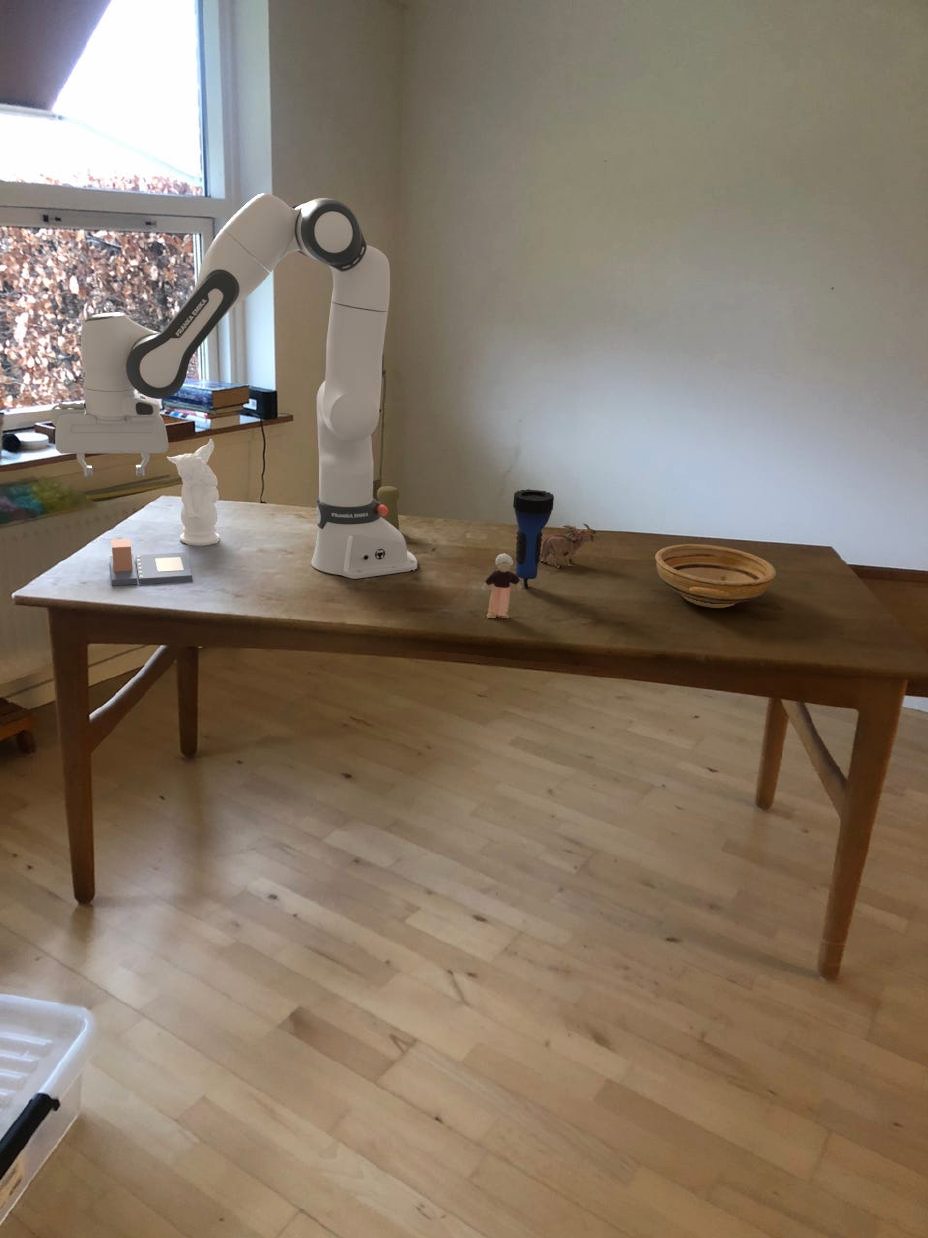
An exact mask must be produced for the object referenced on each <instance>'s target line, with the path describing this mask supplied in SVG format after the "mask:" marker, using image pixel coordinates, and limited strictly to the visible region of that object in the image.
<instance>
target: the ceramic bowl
mask: <svg viewBox="0 0 928 1238" xmlns="http://www.w3.org/2000/svg"><path fill="white" fill-rule="evenodd" d="M654 559H655V561H656V565H655V566H656V570H657V573H658V575H659V577H660V579H661V580H662V582H663V583H664V585H665V586H667V587H668V588H670V589H671V590H673V591H674V592H676V593H678V594H680V595H681V596H682V595H684V596H686V597H688V598H691V599H693V600H696V601H700V602H704V603H710V604H733V603H736V604H737V603H743V602H748V601H752V600H754V599H756V598H758V597H760V596H761V595H763V594H764V593H765V592H766V591H767V590H768V589H769V587H770V585H771V583H772V582H773V579H774V578H775V577H776V574H777V571H776V569H775V567H774V566H773V564H771V563H770V562H769V561H767V560H765V559H763V558H762V557H759V556H756V555H755V554H753V553H749V552H745V551H743V550H739V549H735V548H730V547H725V546H720V545H712V544H698V543H697V544H694V543H688V544H676V545H671V546H666V547H664V548H662V549H660V550H658V551H657V552H656V553H655V556H654Z"/></svg>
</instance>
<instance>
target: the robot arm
mask: <svg viewBox="0 0 928 1238" xmlns="http://www.w3.org/2000/svg"><path fill="white" fill-rule="evenodd" d="M293 252H298V253H300V254H302V255H303V256H306V257H307V258H309V259H311V260H313V261H314V262H317V263H320V264H321V263H323V264H325V265H327V266H328V267H329V268H330V270H331V273H332V284H333V288H332V293H331V299H330V301H331V302H330V309H329V319H328V326H327V327H328V329H327V336H326V344H325V346H326V354H325V358H326V359H325V378H324V381H323V382H322V383H321V385H320V386H319V389H318V391H317V393H316V394H317V395H316V420H317V421H316V422H317V441H318V442H317V444H318V458H319V459H318V462H319V463H318V464H319V468H318V471H319V473H318V474H319V475H318V476H319V477H318V478H319V479H318V481H319V483H318V484H319V485H318V486H319V487H318V488H319V489H318V490H319V492H318V495H319V496H318V498H317V500H316V501H317V502H316V514H315V515H316V524H317V536H316V543H315V546H314V547H315V548H314V553H313V556H312V559H311V561H310V564H311V566H312V567H313V568H314V569H316V570H318V571H320V572H323V573H326V574H332V575H339V576H343V577H346V578H348V579H354V580H355V579H363V578H364V579H365V578H371V577H376V576H377V577H379V576H384V575H386V576H387V575H391V574H398V573H406V572H411V570H413V571H416V570H415V569H418V560H417V558H416V556H415V555H414V554H413V553H411V552H410V551H409V550H408V547H407V542H406V539H405V537H404V534H403V533H402V532H401V531H399V530H400V529H399V530H397V529H396V528H395V527H394V526H392V525H391V524H390V523H389V522H387V521H386V520H385V519H383V518H382V517H381V516H385V515H387V513H388V508H387V507H386V506H385V505H382V504H381V503H380V502H379V500H376V499H375V498H373V494H374V493H373V491H374V458H373V449H372V448H373V446H372V434H373V433H374V431H375V430H376V428H377V427H378V423H379V421H380V407H381V398H382V397H381V395H382V394H381V393H382V380H383V379H382V378H383V351H384V345H385V343H384V342H385V337H386V336H385V335H386V330H387V329H386V328H387V321H388V316H389V315H388V313H389V306H390V295H391V293H390V292H391V269H390V263H389V262H390V261H389V260H388V257H387V256H386V255H385V254H384V252H382V251H381V250H380V249H378V248H376V247H374V246H371V245H368V244H367V243H366V239H365V237H364V234H363V232H362V228H361V226H360V222H359V221H358V218H357V216H356V214H355V213H354V211H353V210H352V209H351V208H350V207H349V206H348V205H346V204H345V203H343V202H342V201H340V200H335V199H333V198H328V197H321V198H320V197H319V198H315V199H312V200H309V201H306V202H303V203H300V204H297V205H294V206H289V205H288V204H287V203H286V202H285V201H283V200H282V199H281V198H280V197H277V196H276V195H274V194H270V193H261V194H257V195H256V196H255V197H253V198H252V199H251V200H249V201H248V202H247V203H246V204H245V205H244V206H243V207H241V208H240V209H239V210H238V211H237V212H236V213H235V214H234V215H233V216H232V217H231V218H230V219H229V220H228V222H226V224H225V225H224V226H223V227H222V229H221V230H220V231H219V233H218V234H217V235H216V236H215V238H214V239H213V241H212V242H211V244H210V245H209V248H208V249H207V250H206V253H205V254H204V257H203V258H202V261H201V263H200V268H199V273H198V277H197V280H196V283H195V285H194V287H193V290H192V292H191V293H190V295H189V297H188V298H187V300H186V301H185V303H184V304H183V305H182V306H181V308H180V309H178V311H177V313H176V314H175V315H174V316H173V317H172V319H170V322H169V323H168V324H167V325H166V326H165V327H164V329H163V330H162V331H161V332H159V331H155V330H153V329H151V328H147V327H146V326H143V325H141V324H139V323H138V322H136V321H134V320H133V319H131V318H130V317H128V316H127V315H126V314H125V313H122V312H117V311H114V312H113V311H112V312H111V311H110V312H109V311H108V312H103V313H102V312H101V313H97V314H93V315H91V316H89V317H88V318H86V319H85V320H84V321H83V323H82V326H81V331H80V355H81V364H82V368H83V369H84V370H83V371H84V381H83V396H84V397H83V399H84V402H58V404H56V405H54V406H53V407H52V408H51V409H50V420H51V423H52V425H53V426H54V427H55V435H54V439H55V441H54V443H55V450H56V451H57V452H58V453H59V454H63V455H64V454H66V455H67V454H69V455H71V454H75V455H76V460H77V461H78V463H79V464H80V465H81V467H82V468H83V473H84V477H93V465H88V464H87V463H86V461H85V459H86V455H85V454H141V459H142V460H141V462H140V464H136V465H135V470H136V472H135V473H136V476H139V477H141V476H143V477H145V475H146V473H145V472H146V471H145V467H146V466H147V464H148V463H149V461H150V459H151V456H150V454H164V453H166V452H167V451H168V450H169V438H168V437H169V436H168V433H167V427H166V424H165V421H164V419H163V417H162V415H161V414H160V411H161V407H160V403H159V402H158V401H157V400H159V399H161V400H163V399H166V398H170V397H172V396H174V395H175V394H177V393H178V392H179V391H180V390H181V389H182V387H183V385H184V383H185V381H186V378H187V374H188V368H189V365H190V362H191V361H192V360H191V359H192V357H193V356H194V355H195V353H196V352H197V350H198V349H199V348H200V347H201V345H202V344H203V343H204V341H205V340H206V339H207V337H208V336H209V335H210V334H211V332H212V331H213V330H214V329H215V328H216V326H217V324H218V323H220V321H221V320H222V319H223V317H225V316H226V315H227V314H228V313H229V312H230V311H232V310H233V309H234V308H235V307H236V306H238V305H239V304H240V303H241V302H242V301H244V299H246V298H247V297H248V296H249V295H251V294H252V293H253V292H254V291H255V290H256V289H257V288H258V287H260V285H261V284H262V283H263V282H264V281H265V280H266V279H267V278H268V277H269V276H270V274H271V273H272V272H273V270H275V268H276V267H277V265H278V263H280V261H282V260H283V259H284V258H285V257H286V256H287V255H289V254H291V253H293ZM135 390H136V391H137V393H136V392H135Z"/></svg>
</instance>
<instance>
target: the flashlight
mask: <svg viewBox="0 0 928 1238" xmlns="http://www.w3.org/2000/svg"><path fill="white" fill-rule="evenodd" d="M554 501H555V496H554V494H553V493H551V492H549V491H548V492H547V491H545V490H538V489H530V488H529V489H521V490H517V491H516V492H514V493H513V504H512V505H513V507H512V508H513V509H514V515H515V517H516V522H517V526H518V528H517V532H516V543H515V545H516V547H515V555H516V557H515V561H516V564H515V565H516V568H515V575H516V576H517V577H518V578H519V579H523V588H524V589H528V588H529V584H528V581H529V580H534V579H536V578H537V576H538V569H539V563H540V562H541V559H540V558H539V557H540V555H541V552H542V546H543V545H542V541H543V538H542V537H543V532H542V531H543V529H544V528H545V527H546V525H547V524H548V522H549V520H550V518H551V514H552V512H553V511H552V510H553V509H554Z"/></svg>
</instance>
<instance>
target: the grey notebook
mask: <svg viewBox="0 0 928 1238" xmlns="http://www.w3.org/2000/svg"><path fill="white" fill-rule="evenodd" d="M135 566H136V569H137V570H136V572H137V579H138V582H139V585H148V584H151V585H153V584H162V583H163V584H164V583H180V582H182V583H183V582H193V574H192V570H191V567H190V564H189V560H188V557H187V554H186V552H168V553H152V554H150V553H149V554H135Z"/></svg>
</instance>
